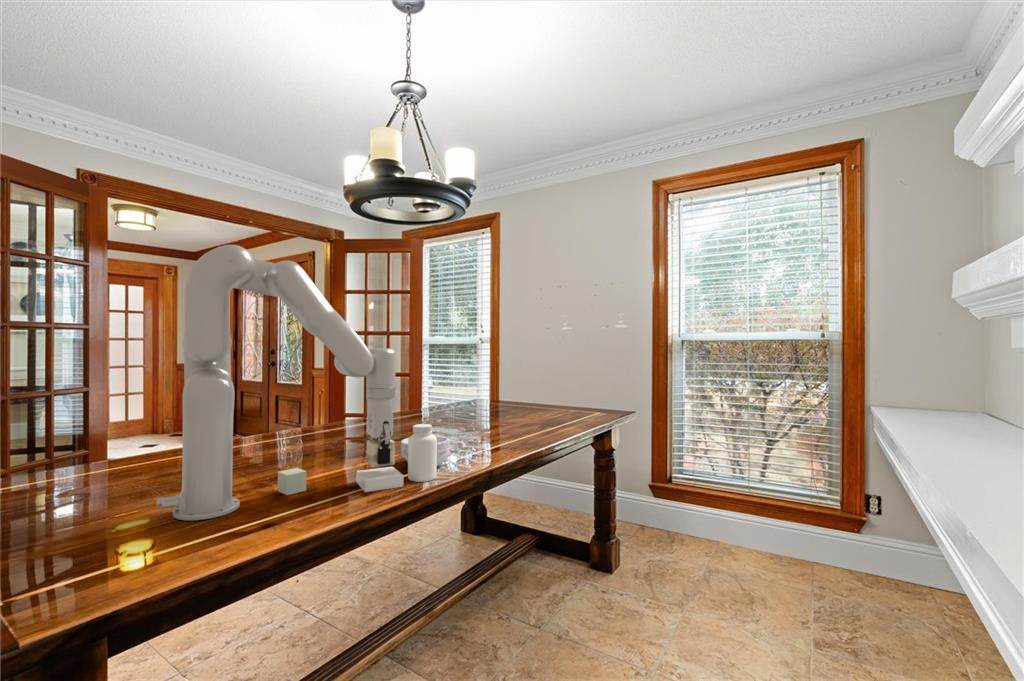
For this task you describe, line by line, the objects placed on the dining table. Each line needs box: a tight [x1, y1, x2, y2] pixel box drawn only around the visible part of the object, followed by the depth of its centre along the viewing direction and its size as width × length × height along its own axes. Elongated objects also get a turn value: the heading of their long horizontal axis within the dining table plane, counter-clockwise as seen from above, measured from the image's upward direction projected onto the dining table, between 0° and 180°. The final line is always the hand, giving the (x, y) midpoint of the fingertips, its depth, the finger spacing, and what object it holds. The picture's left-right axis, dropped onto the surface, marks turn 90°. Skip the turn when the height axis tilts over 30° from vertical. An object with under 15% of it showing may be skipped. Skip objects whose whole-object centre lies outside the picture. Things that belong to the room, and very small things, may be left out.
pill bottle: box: [407, 423, 438, 483], centre depth 134 cm, size 8×8×15 cm
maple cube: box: [366, 439, 396, 468], centre depth 128 cm, size 6×6×6 cm
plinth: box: [355, 466, 404, 493], centre depth 128 cm, size 10×10×3 cm
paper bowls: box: [400, 435, 451, 467], centre depth 149 cm, size 15×15×8 cm
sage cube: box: [277, 467, 308, 496], centre depth 121 cm, size 5×5×5 cm
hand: (380, 460), depth 128 cm, fingers closed on maple cube, 6 cm apart
